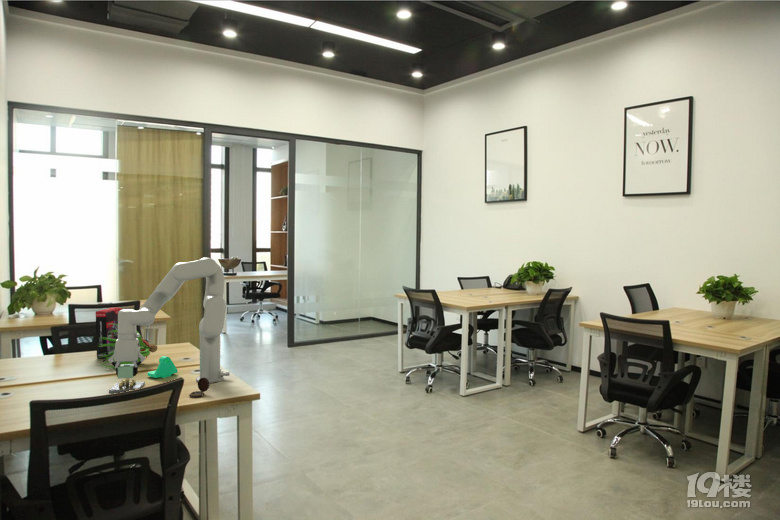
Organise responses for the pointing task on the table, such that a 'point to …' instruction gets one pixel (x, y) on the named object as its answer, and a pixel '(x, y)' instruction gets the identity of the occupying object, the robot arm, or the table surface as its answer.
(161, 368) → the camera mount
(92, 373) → the table surface
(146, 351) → the decorative plant
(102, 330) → the graphics card box
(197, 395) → the compass
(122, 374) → the pale green block
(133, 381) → the chassis
